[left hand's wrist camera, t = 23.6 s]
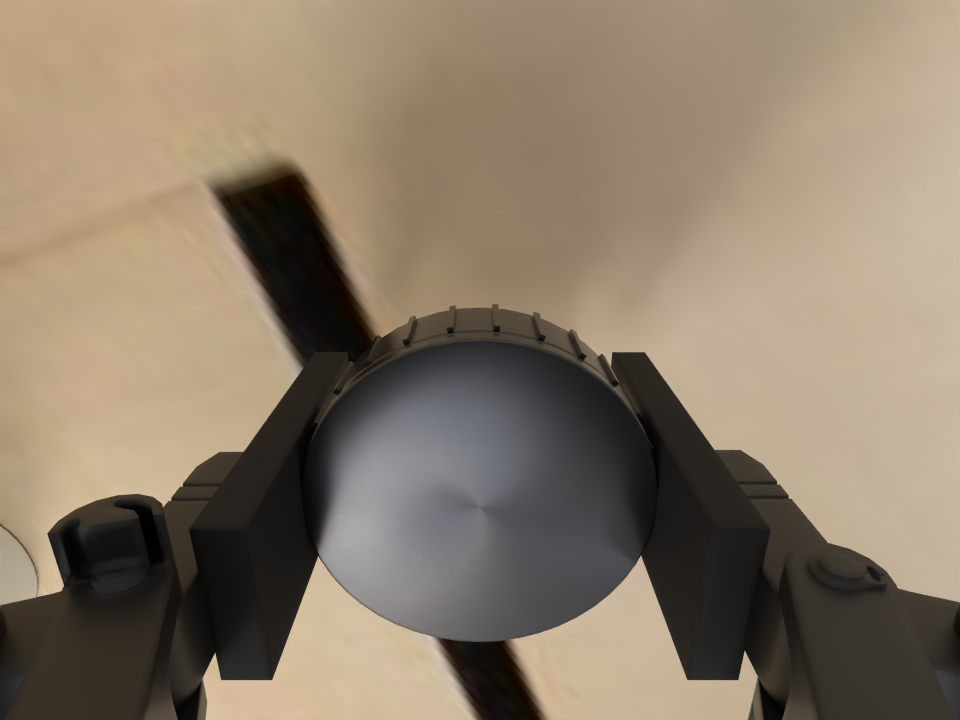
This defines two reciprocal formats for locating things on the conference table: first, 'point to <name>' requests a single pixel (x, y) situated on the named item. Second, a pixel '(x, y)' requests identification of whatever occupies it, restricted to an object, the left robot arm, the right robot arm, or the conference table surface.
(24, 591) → the jar
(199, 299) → the conference table surface
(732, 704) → the conference table surface
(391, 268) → the conference table surface
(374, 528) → the lid
